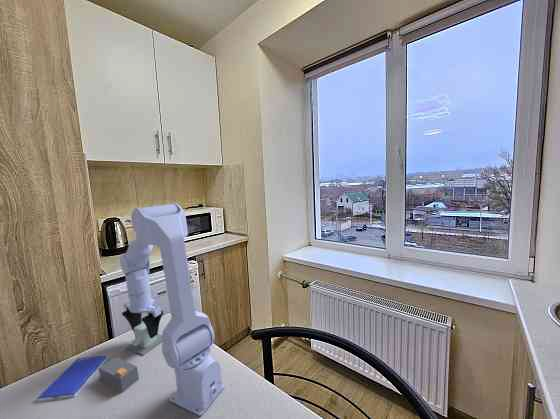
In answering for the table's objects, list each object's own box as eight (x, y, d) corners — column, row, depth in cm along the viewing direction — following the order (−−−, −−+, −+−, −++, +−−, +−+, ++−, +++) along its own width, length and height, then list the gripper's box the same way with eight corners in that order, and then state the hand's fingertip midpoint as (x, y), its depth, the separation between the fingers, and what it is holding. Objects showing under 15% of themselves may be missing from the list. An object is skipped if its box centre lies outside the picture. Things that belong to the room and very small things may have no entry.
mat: (167, 338, 76) (167, 337, 76) (143, 355, 69) (143, 354, 69) (150, 332, 79) (150, 331, 79) (125, 348, 72) (125, 347, 72)
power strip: (139, 378, 60) (137, 363, 60) (122, 392, 57) (120, 376, 56) (117, 368, 64) (115, 354, 64) (100, 380, 61) (98, 365, 60)
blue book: (76, 358, 68) (36, 397, 56) (107, 354, 69) (74, 393, 56) (77, 363, 68) (37, 403, 56) (107, 359, 69) (75, 399, 57)
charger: (157, 339, 75) (154, 323, 74) (139, 352, 70) (136, 334, 69) (148, 336, 77) (146, 320, 76) (130, 348, 72) (127, 331, 71)
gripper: (167, 288, 72) (173, 330, 74) (136, 282, 79) (142, 321, 80) (145, 299, 66) (152, 345, 68) (114, 292, 72) (120, 334, 74)
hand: (145, 333), depth 74 cm, fingers open, 7 cm apart
